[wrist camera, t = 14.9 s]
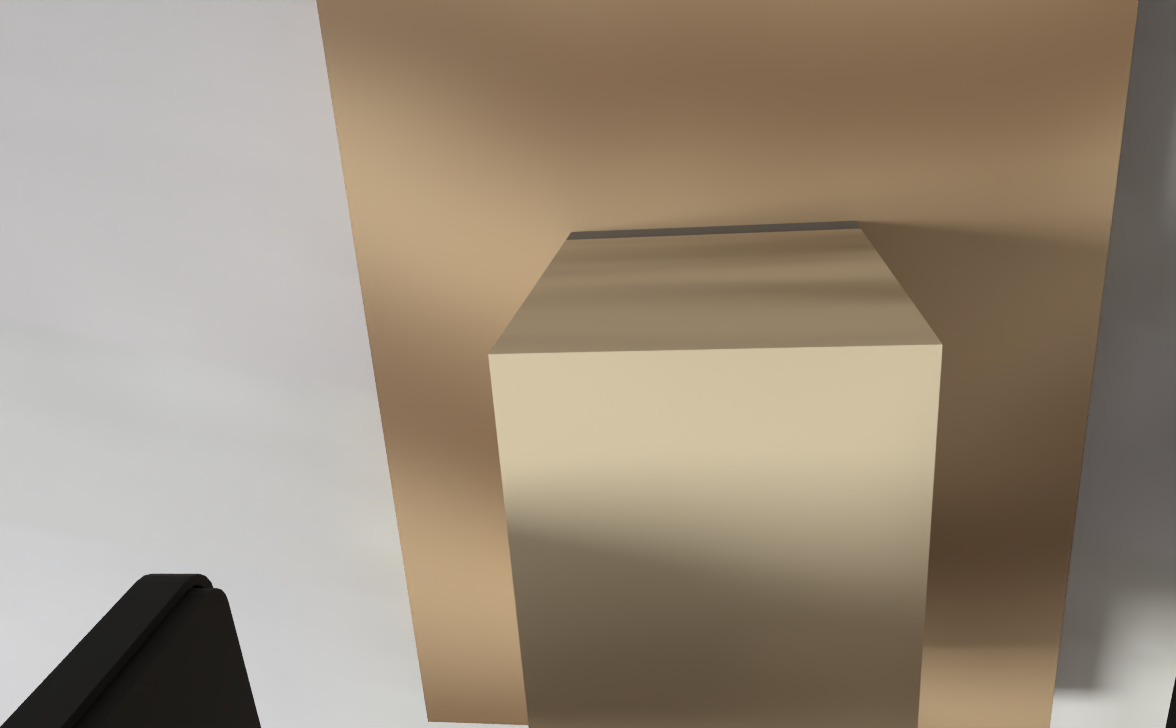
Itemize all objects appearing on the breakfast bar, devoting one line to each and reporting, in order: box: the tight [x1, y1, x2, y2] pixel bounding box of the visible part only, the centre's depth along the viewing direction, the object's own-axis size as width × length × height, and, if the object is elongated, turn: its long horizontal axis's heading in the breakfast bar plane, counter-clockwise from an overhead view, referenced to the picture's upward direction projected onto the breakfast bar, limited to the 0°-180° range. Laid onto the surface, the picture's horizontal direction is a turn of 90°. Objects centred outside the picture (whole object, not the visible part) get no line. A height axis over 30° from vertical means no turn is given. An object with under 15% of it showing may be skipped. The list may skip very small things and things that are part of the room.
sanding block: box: [488, 221, 943, 728], centre depth 13 cm, size 8×4×6 cm, turn 4°
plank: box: [316, 0, 1139, 728], centre depth 15 cm, size 26×12×2 cm, turn 4°
